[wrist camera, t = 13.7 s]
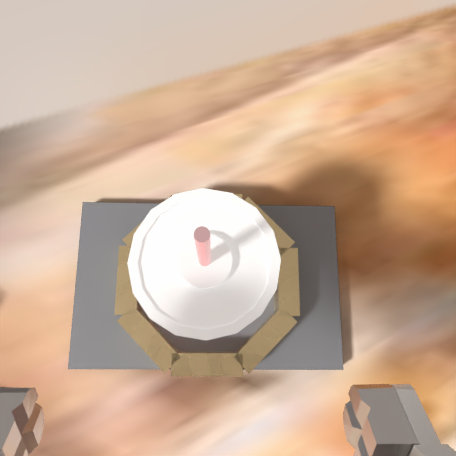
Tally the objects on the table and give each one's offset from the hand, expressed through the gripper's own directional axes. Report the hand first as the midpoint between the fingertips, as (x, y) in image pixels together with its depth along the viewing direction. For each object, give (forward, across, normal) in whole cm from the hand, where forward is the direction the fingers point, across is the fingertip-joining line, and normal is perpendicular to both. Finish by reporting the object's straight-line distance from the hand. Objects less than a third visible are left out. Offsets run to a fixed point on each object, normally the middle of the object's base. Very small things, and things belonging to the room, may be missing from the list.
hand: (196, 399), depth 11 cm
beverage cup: (+13, 0, +7) cm, 15 cm away
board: (+14, 0, +7) cm, 15 cm away
